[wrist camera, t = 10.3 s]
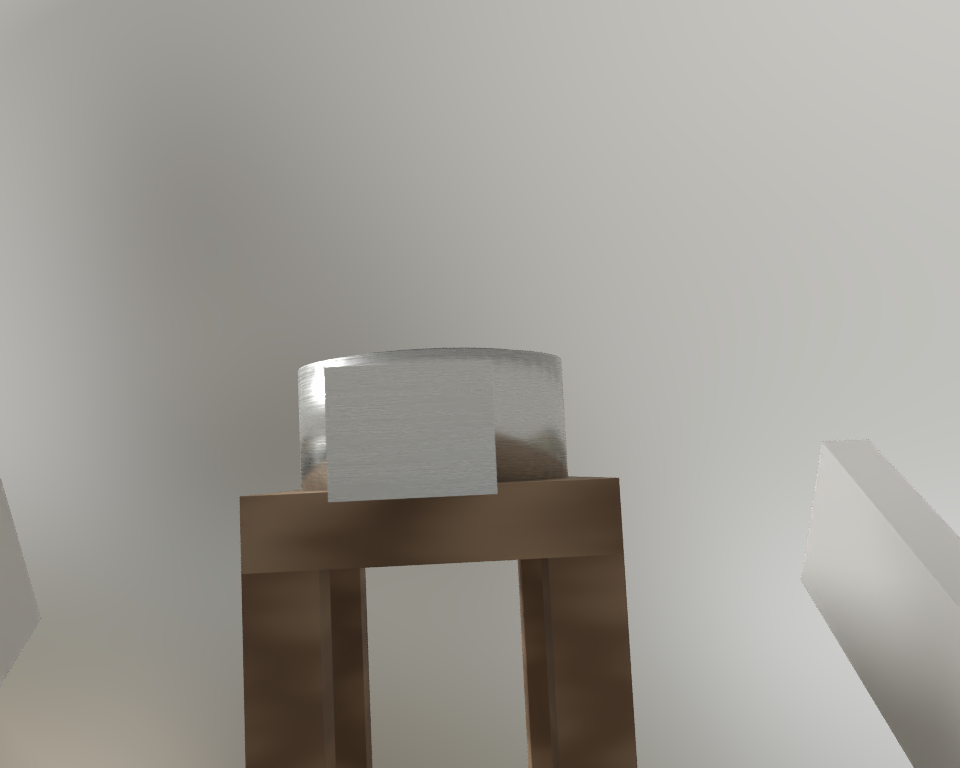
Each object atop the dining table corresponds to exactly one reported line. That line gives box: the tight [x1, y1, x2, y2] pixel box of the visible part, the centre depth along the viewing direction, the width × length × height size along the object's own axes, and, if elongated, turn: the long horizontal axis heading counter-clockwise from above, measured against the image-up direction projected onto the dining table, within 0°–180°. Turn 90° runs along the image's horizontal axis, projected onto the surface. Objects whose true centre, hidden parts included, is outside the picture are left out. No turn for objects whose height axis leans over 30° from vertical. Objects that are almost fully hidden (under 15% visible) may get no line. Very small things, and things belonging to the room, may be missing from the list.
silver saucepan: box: [298, 348, 568, 502], centre depth 24 cm, size 9×22×4 cm, turn 2°
